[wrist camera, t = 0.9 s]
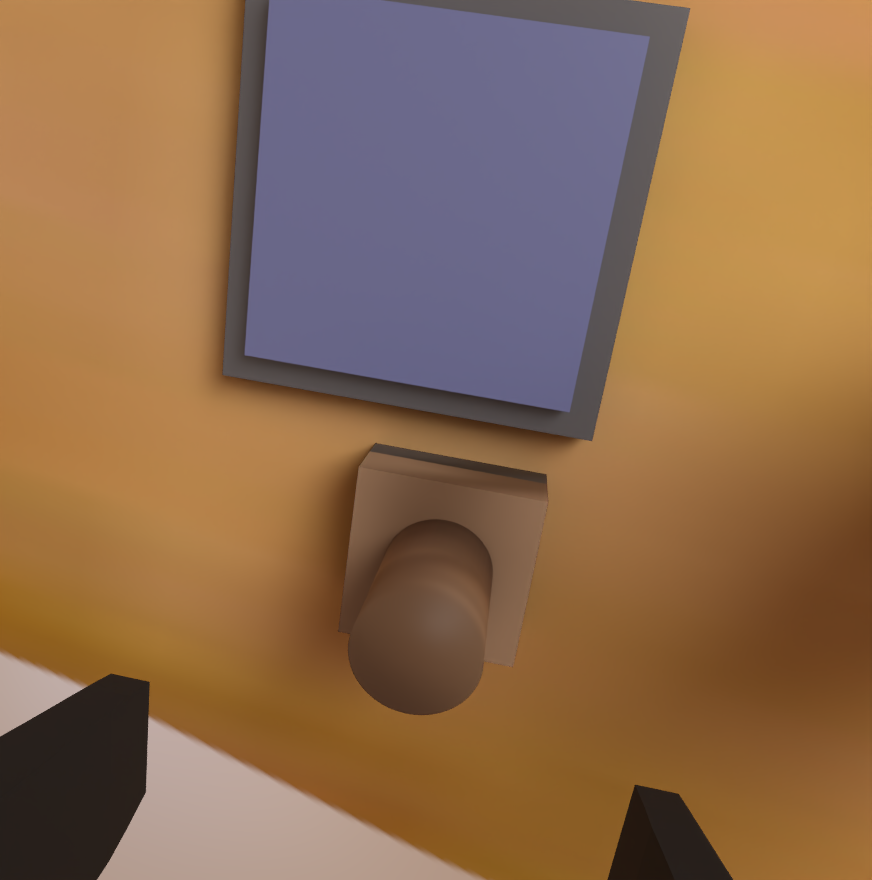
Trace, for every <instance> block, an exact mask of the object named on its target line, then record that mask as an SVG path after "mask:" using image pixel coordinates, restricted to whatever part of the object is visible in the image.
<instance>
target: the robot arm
mask: <svg viewBox="0 0 872 880" xmlns="http://www.w3.org/2000/svg"><path fill="white" fill-rule="evenodd" d="M149 683H150V682H147V681H143V680H138V679H133V678H128V677H124V676H119V675H114V674H110V675H108V676H106V677H104V678H102V679H100V680H98V681H96V682H95V683H93V684H91V685H89V686H88V687H86V688H84V689H82V690H81V691H79V692H77V693H75V694H74V695H72V696H70V697H69V698H67V699H65V700H63V701H62V702H60V703H58V704H56V705H55V706H53V707H51V708H50V709H48V710H46V711H44V712H43V713H41V714H39V715H37V716H36V717H34V718H32V719H31V720H29V721H27V722H25V723H24V724H22V725H20V726H18V727H16V728H15V729H13V730H11V731H9V732H8V733H6V734H4V735H3V736H1V737H0V880H97V879H98V877H99V876H100V874H101V873H102V871H103V869H104V868H105V866H106V865H107V863H108V862H109V860H110V858H111V857H112V855H113V853H114V851H115V849H116V848H117V846H118V844H119V842H120V840H121V838H122V837H123V835H124V833H125V831H126V829H127V827H128V825H129V824H130V822H131V820H132V818H133V816H134V814H135V812H136V810H137V808H138V806H139V804H140V802H141V800H142V798H143V797H144V795H145V793H146V770H147V740H148V712H149ZM608 880H733V879H732V877H731V875H730V874H729V872H728V871H727V869H726V868H725V866H724V865H723V863H722V861H721V860H720V858H719V857H718V855H717V854H716V852H715V850H714V849H713V847H712V846H711V844H710V842H709V841H708V839H707V838H706V836H705V834H704V833H703V831H702V830H701V828H700V827H699V825H698V823H697V822H696V820H695V819H694V817H693V815H692V814H691V812H690V811H689V809H688V808H687V806H686V805H685V803H684V801H683V800H682V798H681V797H680V795H679V794H677V793H672V792H667V791H662V790H658V789H653V788H648V787H644V786H639V785H635V787H634V790H633V794H632V797H631V800H630V804H629V807H628V811H627V814H626V818H625V821H624V825H623V828H622V832H621V835H620V838H619V842H618V845H617V849H616V852H615V856H614V859H613V863H612V866H611V869H610V873H609V876H608Z"/></svg>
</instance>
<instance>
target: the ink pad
mask: <svg viewBox="0 0 872 880" xmlns="http://www.w3.org/2000/svg"><path fill="white" fill-rule="evenodd" d="M689 12H690V8H684V7H677V6H669V5H662V4H654V3H646V2H639V1H631V0H245V16H244V32H243V49H242V65H241V81H240V98H239V114H238V131H237V147H236V163H235V180H234V196H233V212H232V229H231V245H230V261H229V278H228V294H227V311H226V327H225V343H224V360H223V375H226V376H231V377H237V378H242V379H248V380H254V381H259V382H265V383H270V384H276V385H282V386H287V387H293V388H298V389H304V390H310V391H315V392H321V393H326V394H332V395H337V396H343V397H349V398H354V399H360V400H365V401H371V402H377V403H382V404H388V405H393V406H399V407H405V408H410V409H416V410H421V411H427V412H433V413H438V414H444V415H449V416H455V417H461V418H466V419H472V420H477V421H483V422H489V423H494V424H500V425H505V426H511V427H516V428H522V429H528V430H533V431H539V432H544V433H550V434H556V435H561V436H567V437H572V438H578V439H584V440H589V441H592V439H593V435H594V430H595V426H596V421H597V417H598V413H599V408H600V404H601V399H602V395H603V391H604V386H605V382H606V377H607V373H608V369H609V364H610V360H611V355H612V351H613V347H614V342H615V338H616V333H617V329H618V325H619V320H620V316H621V311H622V307H623V302H624V298H625V294H626V289H627V285H628V280H629V276H630V272H631V267H632V263H633V258H634V254H635V250H636V245H637V241H638V236H639V232H640V228H641V223H642V219H643V214H644V210H645V206H646V201H647V197H648V192H649V188H650V184H651V179H652V175H653V170H654V166H655V161H656V157H657V153H658V148H659V144H660V139H661V135H662V131H663V126H664V122H665V117H666V113H667V109H668V104H669V100H670V95H671V91H672V87H673V82H674V78H675V73H676V69H677V65H678V60H679V56H680V51H681V47H682V42H683V38H684V34H685V29H686V25H687V20H688V16H689Z"/></svg>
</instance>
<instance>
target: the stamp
mask: <svg viewBox="0 0 872 880" xmlns="http://www.w3.org/2000/svg"><path fill="white" fill-rule="evenodd" d="M547 506H548V491H547V476H546V474H541V473H536V472H530V471H525V470H519V469H514V468H508V467H503V466H497V465H492V464H486V463H481V462H475V461H470V460H465V459H459V458H454V457H448V456H443V455H437V454H432V453H426V452H421V451H415V450H410V449H404V448H399V447H394V446H388V445H383V444H377V443H375V445H374V446H373V448H372V449H371V450H370V452H369V453H368V455H367V456H366V457H365V459H364V460H363V462H362V463H361V464H360V466H359V469H358V477H357V485H356V493H355V501H354V509H353V517H352V525H351V533H350V541H349V549H348V557H347V565H346V573H345V581H344V589H343V597H342V605H341V613H340V621H339V629H338V632H343V633H348V634H350V638H349V643H348V656H349V661H350V666H351V668H352V671H353V674H354V675H355V677H356V679H357V681H358V682H359V684H360V685H361V686H362V688H363V689H364V690H365V691H366V692H367V693H368V694H369V695H370V696H371V697H373V698H374V699H375V700H377V701H378V702H380V703H381V704H383V705H385V706H387V707H388V708H391V709H393V710H396V711H399V712H403V713H407V714H413V715H431V714H437V713H441V712H444V711H447V710H450V709H452V708H454V707H456V706H457V705H459V704H461V703H462V702H463V701H464V700H466V699H467V698H468V697H469V696H470V695H471V694H472V692H473V691H474V690H475V688H476V687H477V685H478V683H479V681H480V678H481V675H482V671H483V664H484V661H485V662H490V663H495V664H500V665H505V666H509V667H513V665H514V661H515V656H516V651H517V647H518V642H519V637H520V632H521V628H522V623H523V618H524V614H525V609H526V604H527V600H528V595H529V590H530V586H531V581H532V576H533V572H534V567H535V562H536V558H537V553H538V548H539V543H540V539H541V534H542V529H543V525H544V520H545V515H546V511H547Z"/></svg>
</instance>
